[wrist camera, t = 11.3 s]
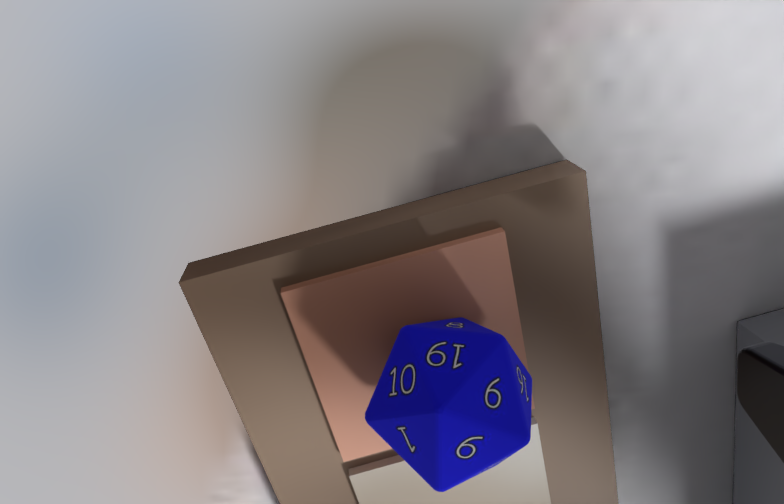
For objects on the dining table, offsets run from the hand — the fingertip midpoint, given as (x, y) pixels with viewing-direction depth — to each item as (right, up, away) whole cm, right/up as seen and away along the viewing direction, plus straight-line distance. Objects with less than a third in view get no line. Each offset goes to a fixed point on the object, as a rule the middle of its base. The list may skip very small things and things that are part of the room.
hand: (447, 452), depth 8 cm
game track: (+1, -4, +6) cm, 7 cm away
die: (0, +1, +2) cm, 3 cm away
